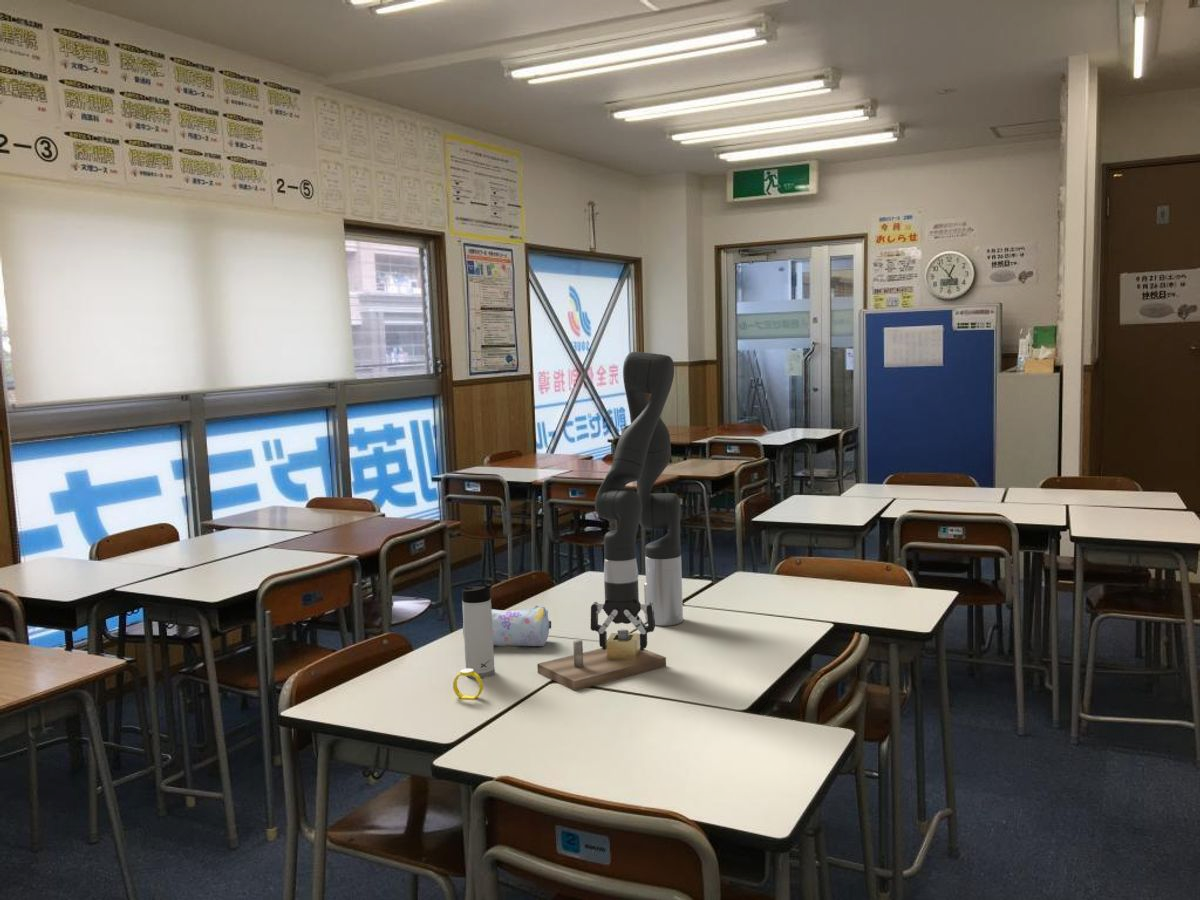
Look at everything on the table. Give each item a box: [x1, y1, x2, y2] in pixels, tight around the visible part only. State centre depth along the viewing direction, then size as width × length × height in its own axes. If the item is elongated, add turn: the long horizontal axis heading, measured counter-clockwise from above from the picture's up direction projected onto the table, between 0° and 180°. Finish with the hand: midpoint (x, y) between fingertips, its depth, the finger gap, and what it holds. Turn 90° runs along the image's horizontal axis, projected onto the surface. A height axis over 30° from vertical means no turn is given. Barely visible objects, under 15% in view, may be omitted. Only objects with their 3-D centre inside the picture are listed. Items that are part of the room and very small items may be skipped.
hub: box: [617, 628, 629, 640], centre depth 213 cm, size 3×3×6 cm
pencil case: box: [462, 605, 552, 647], centre depth 231 cm, size 21×9×10 cm, turn 83°
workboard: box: [537, 639, 667, 691], centre depth 210 cm, size 15×24×8 cm, turn 124°
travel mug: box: [461, 583, 496, 679], centre depth 209 cm, size 6×7×20 cm
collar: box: [607, 632, 640, 660], centre depth 213 cm, size 6×6×4 cm
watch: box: [452, 668, 484, 700], centre depth 195 cm, size 6×3×6 cm, turn 79°
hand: (623, 649), depth 213 cm, fingers open, 8 cm apart
